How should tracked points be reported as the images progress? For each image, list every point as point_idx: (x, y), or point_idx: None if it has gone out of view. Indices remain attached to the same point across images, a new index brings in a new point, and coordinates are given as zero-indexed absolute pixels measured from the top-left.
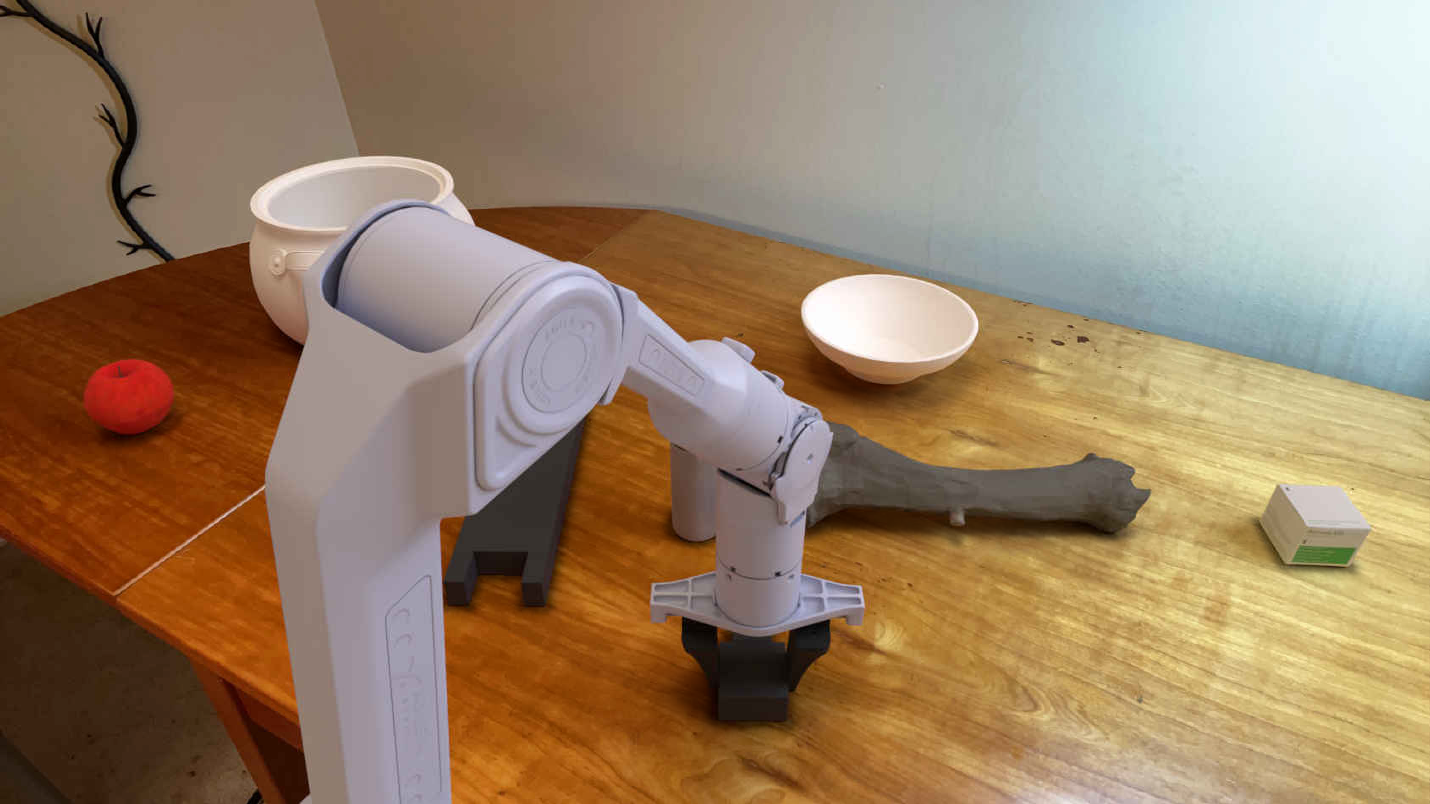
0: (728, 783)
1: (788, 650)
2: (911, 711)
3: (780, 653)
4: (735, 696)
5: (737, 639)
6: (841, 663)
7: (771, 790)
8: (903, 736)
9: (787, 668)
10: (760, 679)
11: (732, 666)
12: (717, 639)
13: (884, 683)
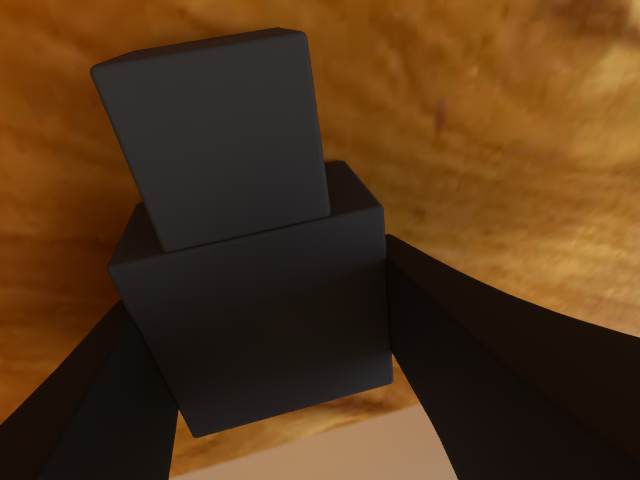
0: (259, 440)
1: (418, 321)
2: (630, 217)
3: (367, 259)
4: (243, 423)
5: (184, 243)
6: (514, 109)
7: (338, 426)
8: (590, 275)
9: (397, 329)
10: (308, 361)
11: (203, 350)
12: (100, 394)
13: (603, 154)
